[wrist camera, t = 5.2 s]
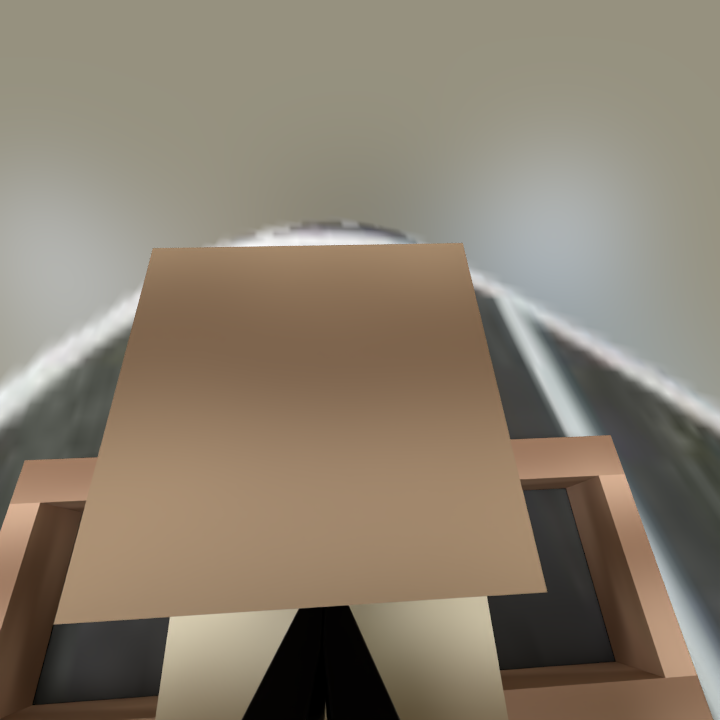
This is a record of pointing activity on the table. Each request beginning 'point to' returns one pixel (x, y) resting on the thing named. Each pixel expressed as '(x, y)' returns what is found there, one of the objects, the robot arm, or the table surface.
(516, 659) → the table surface
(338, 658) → the robot arm
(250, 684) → the track
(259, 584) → the walnut block
